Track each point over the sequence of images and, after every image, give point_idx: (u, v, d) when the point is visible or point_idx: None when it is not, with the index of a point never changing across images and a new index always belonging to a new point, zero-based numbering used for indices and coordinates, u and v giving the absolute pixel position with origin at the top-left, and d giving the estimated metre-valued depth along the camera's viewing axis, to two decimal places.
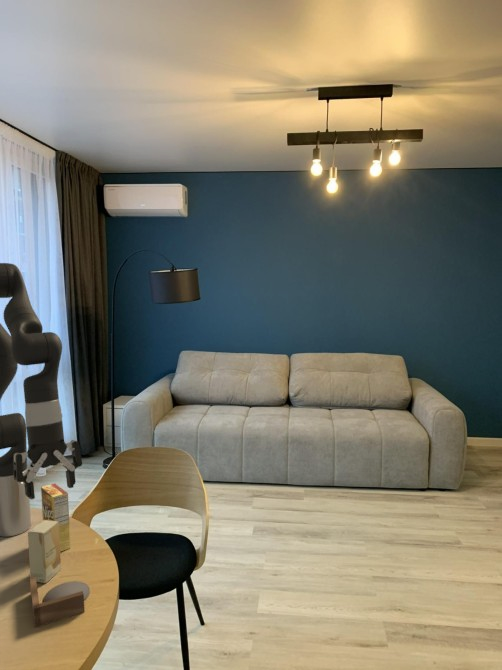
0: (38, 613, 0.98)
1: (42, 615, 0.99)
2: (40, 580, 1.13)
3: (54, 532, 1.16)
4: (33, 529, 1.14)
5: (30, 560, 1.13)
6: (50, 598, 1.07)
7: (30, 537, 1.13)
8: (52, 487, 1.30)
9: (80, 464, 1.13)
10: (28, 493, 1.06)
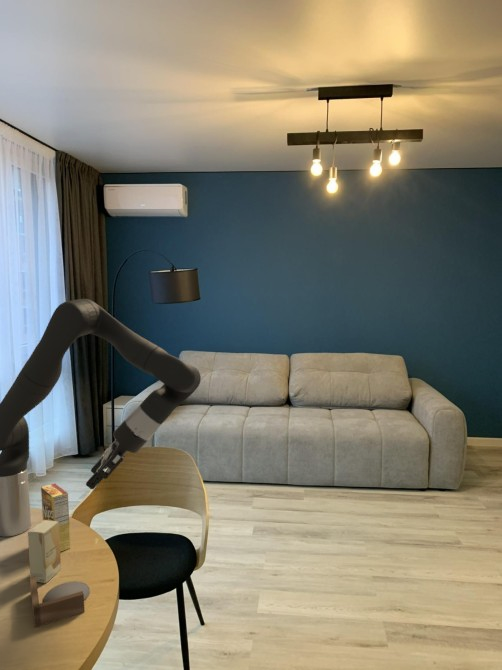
0: (38, 613, 0.98)
1: (42, 615, 0.99)
2: (40, 580, 1.13)
3: (54, 532, 1.16)
4: (33, 529, 1.14)
5: (30, 560, 1.13)
6: (50, 598, 1.07)
7: (30, 537, 1.13)
8: (52, 487, 1.30)
9: None
10: (95, 485, 1.11)
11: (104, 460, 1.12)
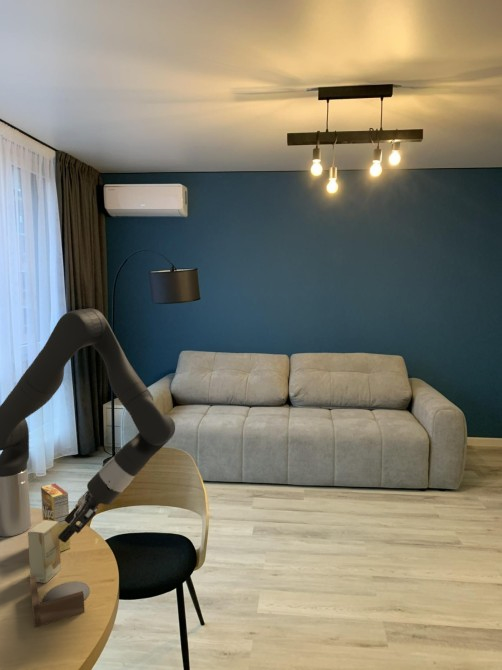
0: (38, 613, 0.98)
1: (42, 615, 0.99)
2: (40, 580, 1.13)
3: (54, 532, 1.16)
4: (33, 529, 1.14)
5: (30, 560, 1.13)
6: (50, 598, 1.07)
7: (30, 537, 1.13)
8: (52, 487, 1.30)
9: None
10: None
11: (77, 513, 1.13)
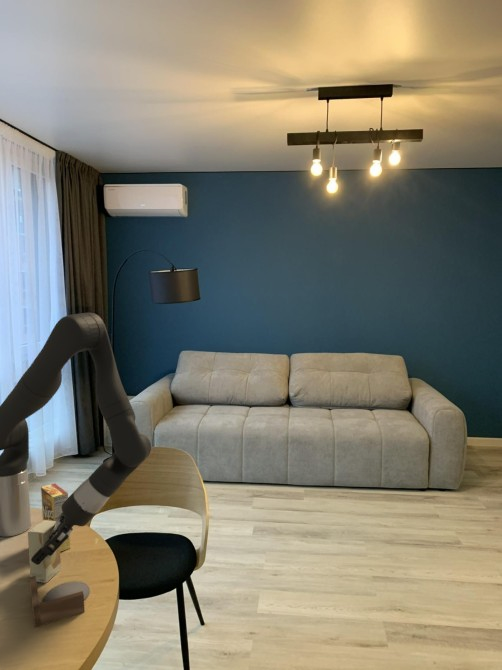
0: (38, 613, 0.98)
1: (42, 615, 0.99)
2: (40, 580, 1.13)
3: None
4: (33, 529, 1.14)
5: (30, 560, 1.13)
6: (50, 598, 1.07)
7: (30, 537, 1.13)
8: (52, 487, 1.30)
9: None
10: (40, 560, 1.11)
11: (50, 535, 1.12)
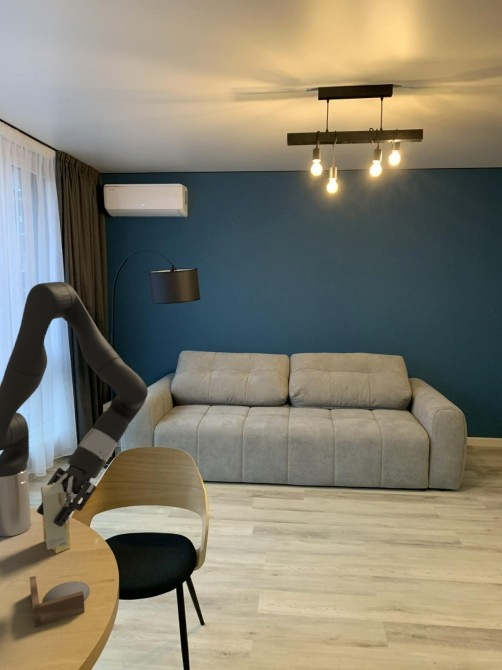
0: (38, 613, 0.98)
1: (42, 615, 0.99)
2: (60, 544, 1.05)
3: None
4: (46, 493, 1.04)
5: (47, 526, 1.04)
6: (50, 598, 1.07)
7: (46, 501, 1.04)
8: None
9: None
10: None
11: (71, 492, 1.06)
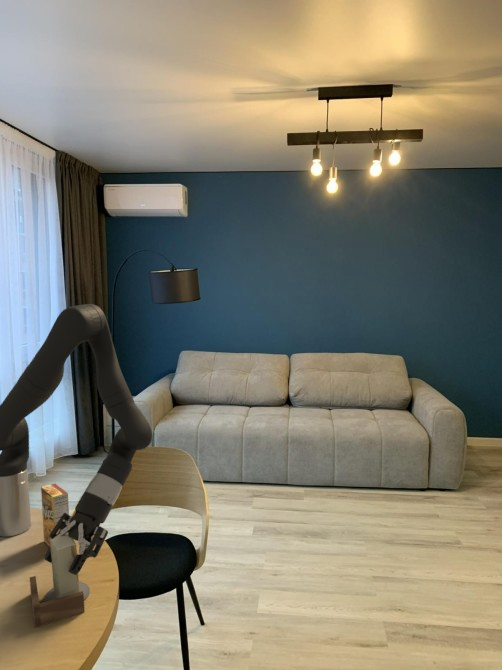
0: (38, 613, 0.98)
1: (42, 615, 0.99)
2: None
3: None
4: (58, 547, 1.05)
5: (60, 580, 1.05)
6: (50, 598, 1.07)
7: (60, 555, 1.04)
8: (52, 487, 1.30)
9: None
10: None
11: (83, 539, 1.07)
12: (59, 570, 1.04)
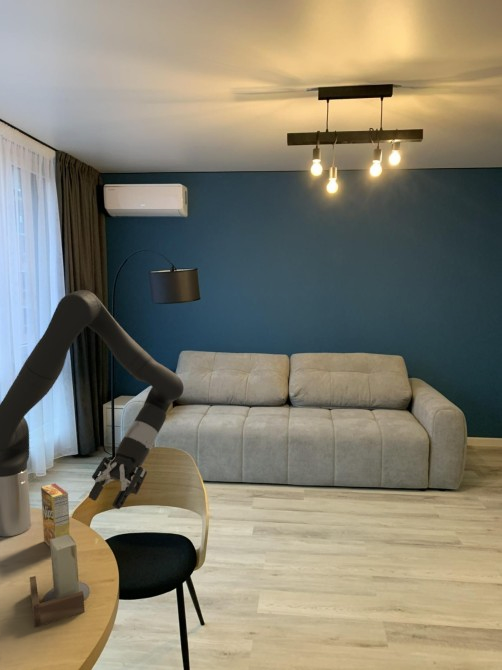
0: (38, 613, 0.98)
1: (42, 615, 0.99)
2: None
3: None
4: (58, 547, 1.05)
5: (60, 580, 1.05)
6: (50, 598, 1.07)
7: (60, 555, 1.04)
8: (52, 487, 1.30)
9: None
10: None
11: (125, 478, 1.16)
12: (59, 570, 1.04)
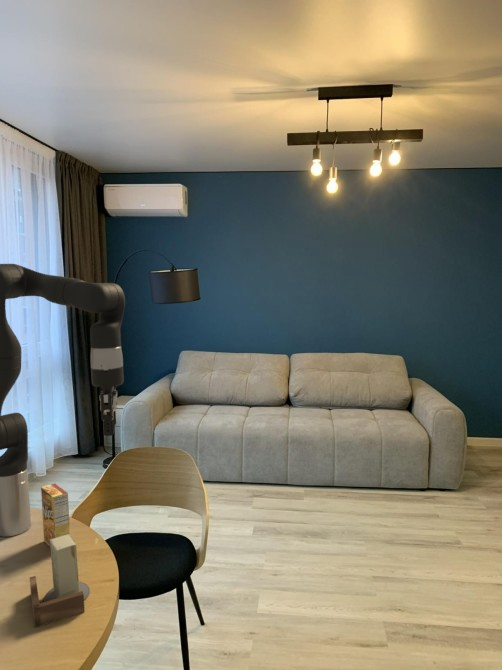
0: (38, 613, 0.98)
1: (42, 615, 0.99)
2: None
3: None
4: (58, 547, 1.05)
5: (60, 580, 1.05)
6: (50, 598, 1.07)
7: (60, 555, 1.04)
8: (52, 487, 1.30)
9: None
10: (111, 430, 1.15)
11: None
12: (59, 570, 1.04)
